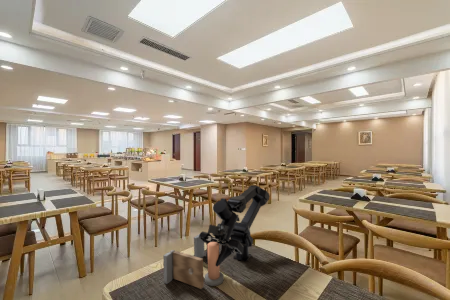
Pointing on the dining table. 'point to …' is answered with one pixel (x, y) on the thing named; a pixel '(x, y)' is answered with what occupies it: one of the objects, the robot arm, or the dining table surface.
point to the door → (187, 269)
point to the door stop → (213, 265)
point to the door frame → (168, 258)
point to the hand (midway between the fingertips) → (211, 264)
